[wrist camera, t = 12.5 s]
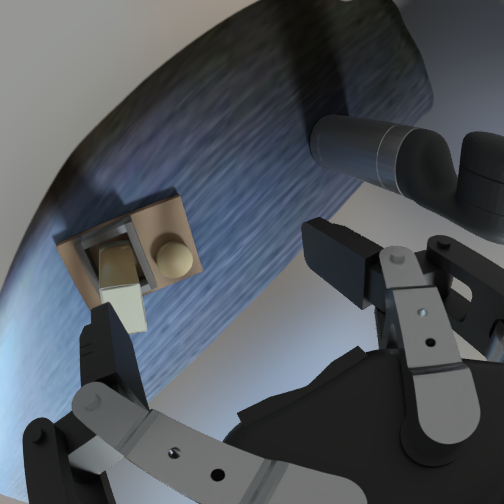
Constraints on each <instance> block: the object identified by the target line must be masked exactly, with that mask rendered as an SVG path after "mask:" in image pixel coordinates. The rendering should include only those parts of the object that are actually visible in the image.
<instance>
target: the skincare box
mask: <svg viewBox="0 0 504 504" xmlns="http://www.w3.org/2000/svg"><path fill="white" fill-rule="evenodd" d="M99 292H100V297H101V301H102V304H104V303H106V302H110V303H111V305H112V306H113V308H114V310H115V312H116V313H117V315H118V317H119V319H120V320H121V322H122V324H123V326H124V327H125V329H126V331H127V332H128V334H135V333H140V332H145V331H147V322H146V315H145V309H144V303H143V298H142V293H141V288H140V283H139V279H138V275H137V271H136V267H135V262H134V258H133V254H132V249H131V244H130V240H122V241H114V242H106V243H101V244H100V245H99Z"/></svg>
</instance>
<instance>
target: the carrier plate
mask: <svg viewBox="0 0 504 504" xmlns="http://www.w3.org/2000/svg"><path fill="white" fill-rule="evenodd" d="M122 240H130V244H131V249H132V254H133V258H134V262H135V267H136V271H137V275H138V279H139V283H140V288H141V293H142V296H144V295H146V294H149V293H151V292H153V291H156V290H158V289H161V288H163V287H166V286H168V285H170V284H173V283H175V282H178V281H180V280H183V279H185V278H187V277H190V276H192V275H195V274H197V273H200V272H202V271H203V269H202V266H201V263H200V260H199V257H198V254H197V250H196V247H195V244H194V241H193V237H192V234H191V231H190V228H189V224H188V221H187V218H186V214H185V211H184V207H183V204H182V200H181V197H180V195H179V194H177V195H174V196H172V197H169V198H166V199H163V200H161V201H158V202H155V203H153V204H150V205H148V206H145V207H142V208H140V209H137V210H135V211H132V212H130V213H127V214H124V215H122V216H120V217H117V218H115V219H112V220H110V221H107V222H105V223H102V224H100V225H98V226H95V227H93V228H91V229H88V230H86V231H84V232H81V233H79V234H77V235H75V236H72V237H70V238H68V239H66V240H63V241H61V242H59V243H57V246H56V247H57V250H58V252H59V254H60V256H61V258H62V260H63V262H64V264H65V266H66V268H67V270H68V272H69V273H70V275H71V277H72V279H73V281H74V283H75V285H76V287H77V288H78V290H79V292H80V294H81V296H82V297H83V299H84V301H85V303H86V304H87V306H88V308H89V309H90V311H91V309H92V308H94V307H97V306H99V305H101V304H102V301H101V297H100V292H99V245H100V244H101V243H106V242H114V241H122Z"/></svg>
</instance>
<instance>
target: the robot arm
mask: <svg viewBox="0 0 504 504" xmlns="http://www.w3.org/2000/svg"><path fill="white" fill-rule="evenodd" d="M310 149H311V153H312V156H313V158H314V159H315V161H316V162H317V163H318V164H319V165H320V166H322V167H324V168H327V169H330V170H333V171H336V172H339V173H342V174H345V175H347V176H350V177H353V178H356V179H359V180H362V181H364V182H367V183H370V184H373V185H375V186H378V187H381V188H383V189H386V190H388V191H391V192H394V193H396V194H399V195H401V196H404V197H407V198H409V199H411V200H413V201H415V202H416V203H417V204H418V205H420V206H422V207H424V208H426V209H428V210H430V211H432V212H435V213H436V214H439V215H440V216H442V217H444V218H446V219H448V220H450V221H451V222H453V223H455V224H457V225H459V226H460V227H462V228H464V229H465V230H467V231H469V232H471V233H473V234H475V235H476V236H479V237H481V238H483V239H485V240H488V241H490V242H494V243H497V244H502V245H504V136H500V135H497V134H493V133H488V132H471V133H468V134H467V135H466V136H465V137H464V139H463V143H462V148H461V156H460V165H459V174H458V177H457V175H456V173H455V170H454V166H453V163H452V158H451V154H450V150H449V147H448V145H447V143H446V141H445V139H444V138H443V137H442V136H441V135H440V134H438V133H436V132H434V131H431V130H427V129H421V128H418V127H413V126H407V125H402V124H396V123H390V122H385V121H378V120H372V119H365V118H358V117H351V116H342V115H327V116H324V117H322V118H321V119H320V120H319V121H318V122H317V123H316V124H315V126H314V128H313V130H312V133H311V137H310ZM301 230H302V240H303V249H304V257H305V260H306V263H307V265H308V266H309V267H310V269H312V270H313V271H314V272H315V273H316V274H318V275H319V276H320V277H322V278H323V279H324V280H325V281H327V282H328V283H329V284H331V285H332V286H333V287H334V288H335V289H337V290H338V291H339V292H340V293H342V294H343V295H344V296H345V297H347V298H348V299H349V300H350V301H351V302H353V303H354V304H355V305H357V306H358V307H359V308H360V309H361V310H363V309H365V308H367V307H368V306H370V305H371V304H373V305H374V306H375V310H374V314H375V321H376V329H377V337H378V346H379V350H373V351H369V352H366V353H365V352H364V351H363V350H362V349H361V348H360V347H359V346H357V347H355V348H354V349H352V350H350V351H349V352H347V353H346V354H344V355H343V356H341V357H339V358H338V359H336V360H334V361H333V362H331V363H330V365H328V366H327V367H326V368H325V369H324V371H322V372H321V374H319V375H318V376H317V377H316V378H315V379H314V380H313V381H312V382H311V383H310V384H309V385H307V386H305V387H303V388H300V389H296V390H293V391H289V392H286V393H282V394H279V395H275V396H271V397H269V398H267V399H265V400H263V401H261V402H259V403H257V404H255V405H253V406H250V407H248V408H247V409H244V410H242V411H240V412H238V413H237V415H238V417H239V419H240V421H241V422H240V423H239V424H238V425H237V426H235V427H234V428H233V429H232V430H231V431H230V432H229V433H228V435H227V436H226V437H225V439H224V440H223V442H221V441H219V440H216V439H214V438H212V437H209V436H207V435H205V434H203V433H201V432H199V431H196V430H194V429H192V428H190V427H188V426H186V425H184V424H182V423H180V422H178V421H176V420H174V419H172V418H170V417H168V416H166V415H165V414H163V413H161V412H159V411H157V410H154V409H151V410H149V407H148V403H147V400H146V396H145V392H144V389H143V385H142V381H141V377H140V373H139V369H138V365H137V361H136V357H135V352H134V348H133V344H132V341H131V339H130V337H129V334H128V332H127V331H126V329H125V327H124V326H123V324H122V322H121V320H120V319H119V317H118V315H117V313H116V312H115V310H114V308H113V306H112V305H111V303H110V302H106V303H104V304H101V305H99V306H97V307H94V308H92V309H91V324H89V325H86V326H84V328H83V330H82V333H81V335H80V376H81V388H80V389H79V390H78V391H77V392H76V394H75V396H74V398H73V400H72V411H71V412H70V413H68V414H67V415H66V416H64V417H63V418H61V419H60V420H59V421H57V422H56V423H52V422H51V421H50V420H49V419H47V418H43V417H42V418H37V419H35V420H33V421H32V422H31V423H29V425H28V426H27V427H26V429H25V431H24V434H23V456H24V468H25V477H26V485H27V492H28V499H29V504H116V502H115V499H114V496H113V493H112V490H111V487H110V483H109V480H108V477H107V473H106V469H108V468H109V467H111V466H112V465H114V464H115V463H116V462H118V461H119V460H120V459H122V458H123V457H125V458H126V459H128V460H129V461H131V462H132V463H133V464H135V465H137V466H138V467H139V468H141V469H142V470H144V471H145V472H147V473H148V474H150V475H151V476H153V477H154V478H156V479H157V480H159V481H161V482H162V483H164V484H165V485H167V486H169V487H170V488H172V489H174V490H175V491H177V492H179V493H180V494H182V495H184V496H186V497H188V498H190V499H191V500H193V501H195V502H197V503H199V504H504V269H503V268H501V267H500V266H498V265H497V264H495V263H493V262H492V261H490V260H489V259H487V258H485V257H483V256H482V255H480V254H479V253H477V252H475V251H474V250H472V249H470V248H469V247H467V246H465V245H463V244H462V243H460V242H458V241H456V240H455V239H453V238H451V237H448V236H444V235H436V236H433V237H430V238H429V239H428V242H427V250H423V251H419V252H415V253H413V252H412V251H411V250H410V249H408V248H405V247H401V246H390V247H386V248H383V247H381V246H379V245H378V244H376V243H374V242H372V241H371V240H369V239H367V238H365V237H363V236H361V235H360V234H358V233H356V232H354V231H353V230H351V229H349V228H347V227H345V226H342V225H338V224H334V223H333V224H332V223H330V222H328V221H327V220H325V219H323V218H321V217H317V218H314V219H312V220H309V221H307V222H304V223H303V224H302V226H301ZM453 277H455V278H457V279H458V280H460V281H462V282H463V283H464V284H466V285H467V286H469V288H470V289H471V291H472V300H471V302H470V301H468V300H467V299H466V298H464V297H463V296H462V295H460V294H459V293H457V292H456V291H455V290H453V289H452V288H451V285H452V281H453ZM452 330H454V331H455V332H456V333H457V334H459V335H460V336H461V337H462V338H463V339H465V340H466V341H467V342H468V343H469V344H471V345H472V346H473V347H474V348H475V349H476V350H478V351H479V352H480V353H481V354H482V355H483V356H485V357H486V359H487V361H480V360H471V359H463V358H461V357H460V353H459V350H458V347H457V343H456V340H455V337H454V334H453V331H452Z"/></svg>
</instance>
